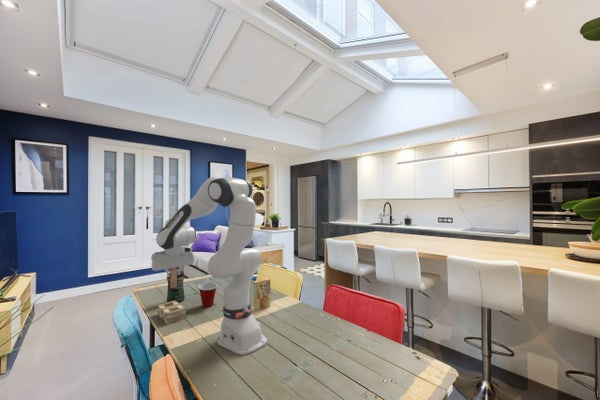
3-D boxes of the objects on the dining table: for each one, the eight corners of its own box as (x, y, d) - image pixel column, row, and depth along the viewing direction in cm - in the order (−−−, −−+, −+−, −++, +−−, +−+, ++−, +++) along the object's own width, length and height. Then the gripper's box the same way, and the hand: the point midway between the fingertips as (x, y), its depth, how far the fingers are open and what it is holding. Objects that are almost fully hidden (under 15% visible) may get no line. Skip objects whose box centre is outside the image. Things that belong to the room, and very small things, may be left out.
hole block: (185, 318, 134) (185, 308, 134) (167, 324, 128) (167, 314, 128) (175, 309, 146) (175, 300, 146) (157, 314, 139) (157, 305, 139)
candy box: (267, 303, 151) (266, 277, 151) (270, 305, 148) (270, 279, 148) (253, 307, 146) (253, 281, 146) (257, 310, 142) (257, 282, 142)
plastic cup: (204, 311, 142) (204, 289, 142) (194, 306, 149) (194, 286, 149) (221, 304, 151) (221, 284, 151) (211, 300, 158) (210, 281, 158)
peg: (177, 287, 134) (177, 264, 134) (171, 288, 132) (171, 265, 131) (175, 285, 136) (175, 263, 136) (169, 287, 134) (169, 264, 134)
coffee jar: (172, 305, 151) (171, 274, 151) (164, 302, 155) (164, 272, 155) (187, 299, 159) (186, 270, 159) (179, 297, 163) (179, 268, 164)
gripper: (153, 253, 124) (153, 281, 124) (195, 247, 138) (195, 273, 139) (149, 251, 128) (149, 278, 129) (190, 246, 143) (190, 270, 143)
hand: (173, 275), depth 134 cm, fingers closed on peg, 3 cm apart
